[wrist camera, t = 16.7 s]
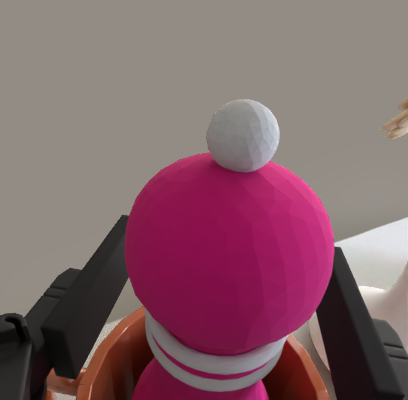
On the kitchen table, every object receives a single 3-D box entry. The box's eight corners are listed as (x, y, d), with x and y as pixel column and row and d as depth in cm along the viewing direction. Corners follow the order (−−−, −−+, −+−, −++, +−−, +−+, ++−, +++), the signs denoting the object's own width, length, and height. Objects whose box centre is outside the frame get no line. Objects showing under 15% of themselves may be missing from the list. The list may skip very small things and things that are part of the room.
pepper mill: (112, 430, 17) (50, 75, 7) (210, 369, 21) (258, 77, 11) (165, 604, 12) (196, 214, 2) (282, 483, 16) (495, 130, 6)
